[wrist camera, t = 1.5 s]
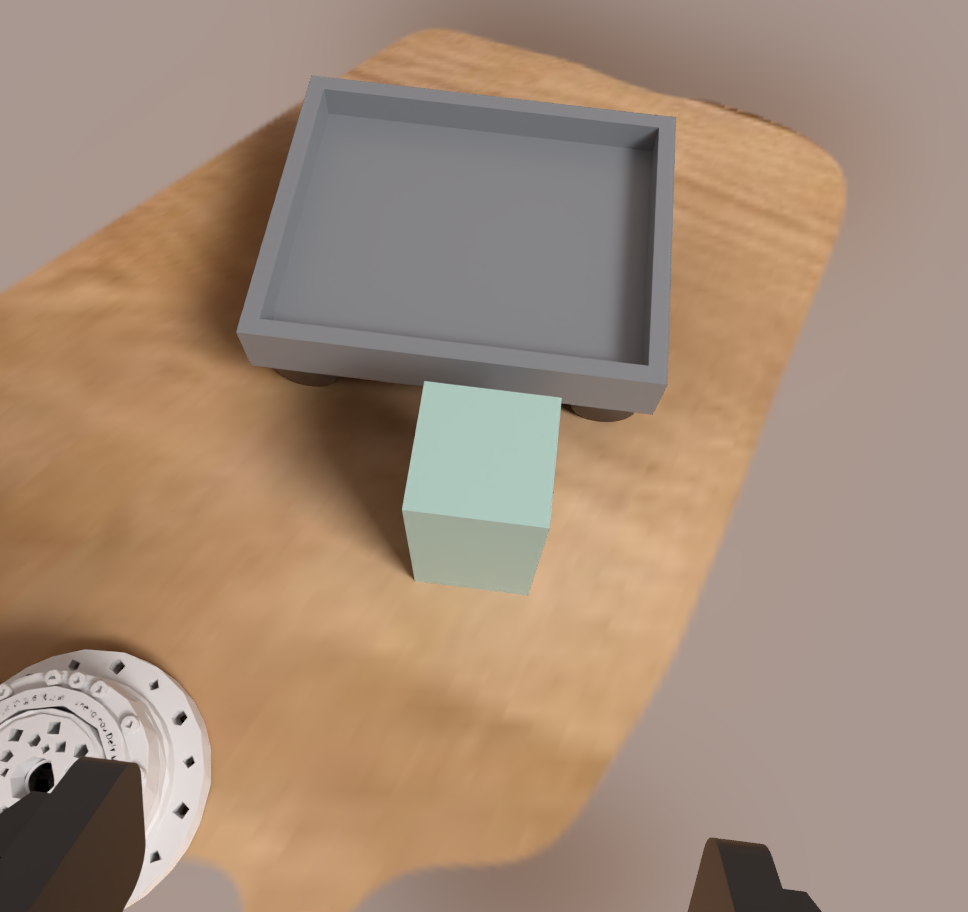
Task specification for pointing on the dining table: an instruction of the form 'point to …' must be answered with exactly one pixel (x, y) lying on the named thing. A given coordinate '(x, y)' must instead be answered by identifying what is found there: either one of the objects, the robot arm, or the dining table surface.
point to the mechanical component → (110, 741)
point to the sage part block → (480, 486)
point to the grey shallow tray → (469, 247)
